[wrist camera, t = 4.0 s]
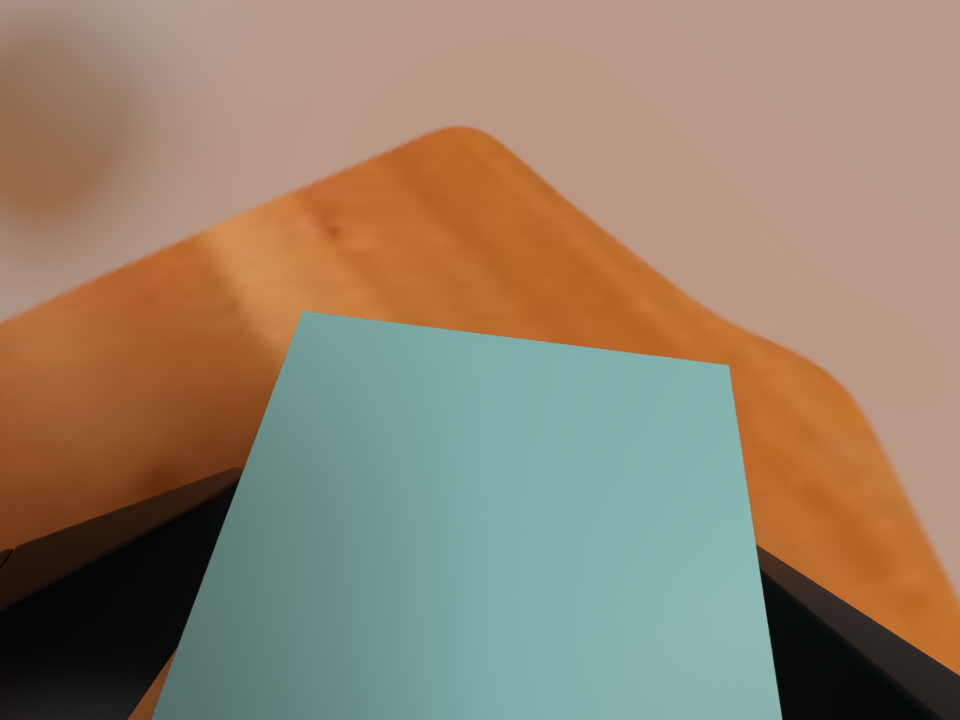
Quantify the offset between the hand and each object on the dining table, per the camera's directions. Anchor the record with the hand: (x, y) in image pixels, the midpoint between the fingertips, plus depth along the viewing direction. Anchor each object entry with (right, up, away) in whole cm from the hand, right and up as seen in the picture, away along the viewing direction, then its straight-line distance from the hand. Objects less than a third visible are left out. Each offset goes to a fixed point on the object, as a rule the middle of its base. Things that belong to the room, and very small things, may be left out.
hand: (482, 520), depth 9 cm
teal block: (0, -4, +4) cm, 6 cm away
